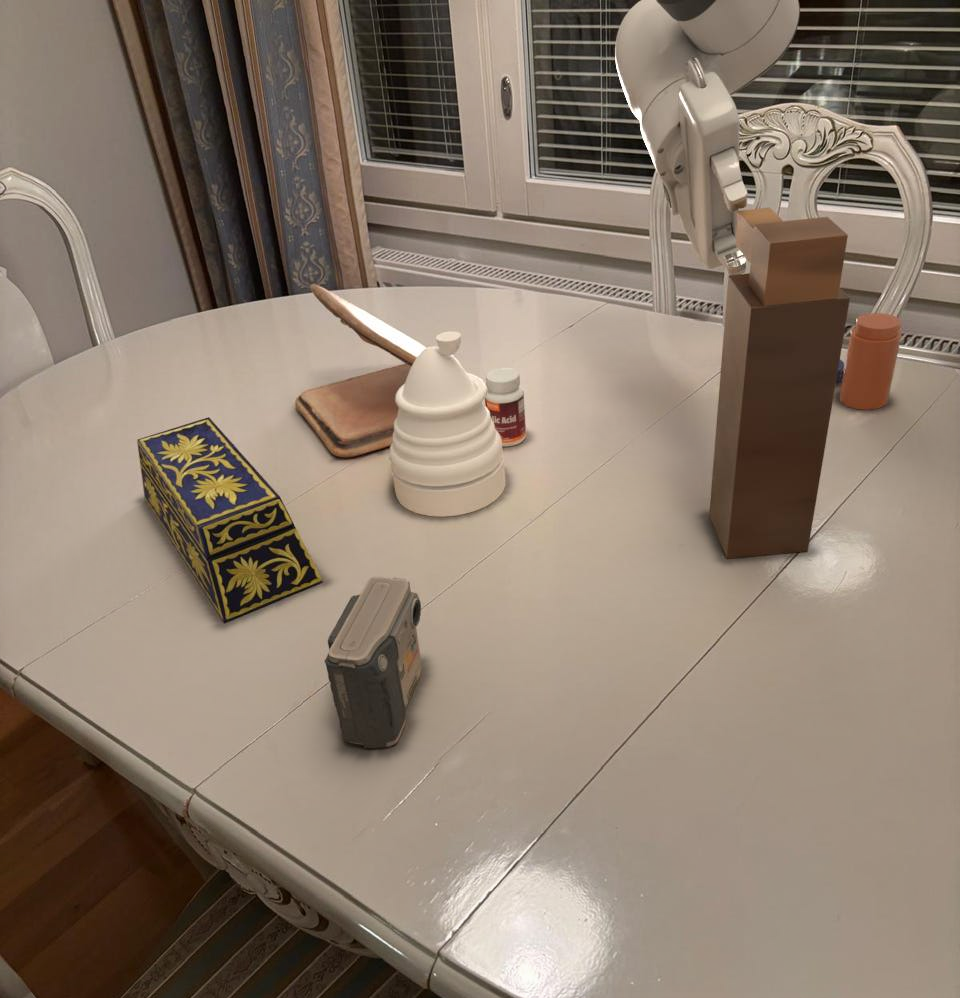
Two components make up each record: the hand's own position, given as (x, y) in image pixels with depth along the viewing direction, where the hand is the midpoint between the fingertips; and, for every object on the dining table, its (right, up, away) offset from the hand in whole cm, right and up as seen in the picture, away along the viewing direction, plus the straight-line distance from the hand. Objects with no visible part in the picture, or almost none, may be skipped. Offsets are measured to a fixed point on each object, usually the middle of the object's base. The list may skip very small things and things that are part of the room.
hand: (739, 238), depth 88 cm
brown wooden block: (+1, -6, -8) cm, 10 cm away
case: (-38, -8, +34) cm, 52 cm away
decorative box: (-53, -28, +14) cm, 62 cm away
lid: (+19, -3, +30) cm, 35 cm away
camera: (-33, -44, -9) cm, 56 cm away
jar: (+22, -9, +25) cm, 34 cm away
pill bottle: (-22, -14, +26) cm, 36 cm away
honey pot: (-29, -21, +18) cm, 40 cm away
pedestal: (+3, -28, +5) cm, 28 cm away
